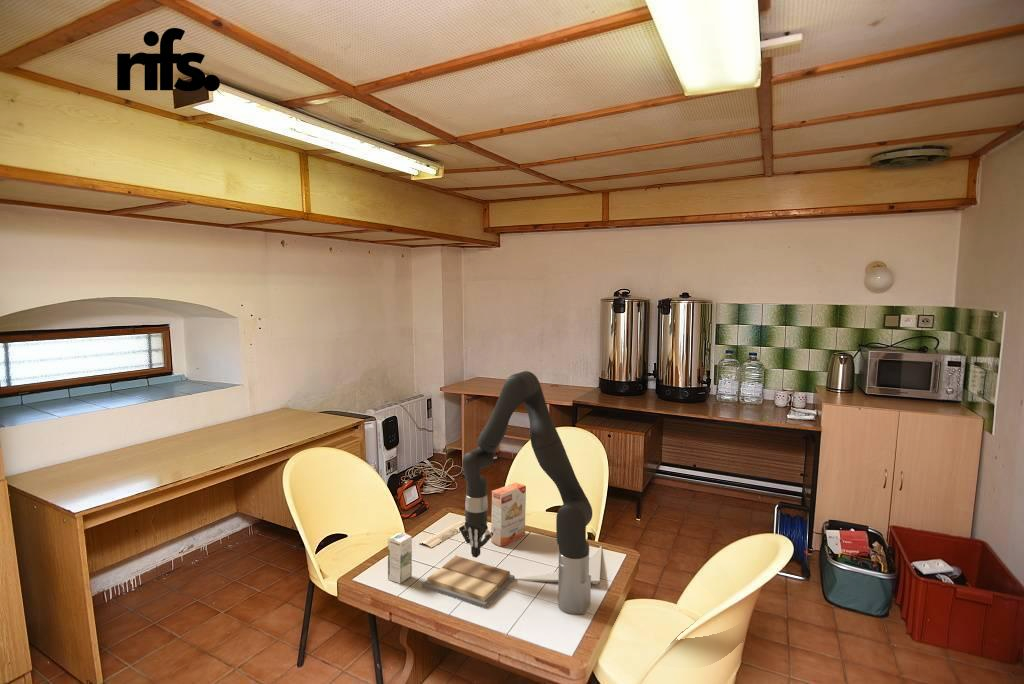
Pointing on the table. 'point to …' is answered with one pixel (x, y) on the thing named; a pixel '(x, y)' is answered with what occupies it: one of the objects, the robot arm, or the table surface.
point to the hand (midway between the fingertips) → (475, 556)
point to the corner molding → (553, 577)
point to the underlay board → (467, 598)
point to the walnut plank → (478, 570)
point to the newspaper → (443, 534)
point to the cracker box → (508, 514)
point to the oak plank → (462, 583)
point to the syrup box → (399, 557)
